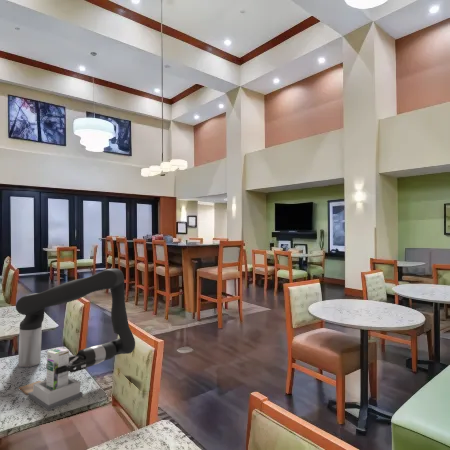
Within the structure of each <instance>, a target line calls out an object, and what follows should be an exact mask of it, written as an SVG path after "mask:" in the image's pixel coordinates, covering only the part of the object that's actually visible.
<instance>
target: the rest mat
mask: <svg viewBox="0 0 450 450" xmlns="http://www.w3.org/2000/svg"><path fill="white" fill-rule="evenodd" d="M39 382H42V381H41V380H38V381H35V382H32V383H29V384H26V385H21V386H19V387H18V390H19V391H21V392H22V393H24V394H25V395H27V396H28V393H30V392H32V391H33V384H36V383H39Z"/></svg>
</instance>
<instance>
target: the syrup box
mask: <svg viewBox="0 0 450 450" xmlns="http://www.w3.org/2000/svg"><path fill="white" fill-rule="evenodd" d="M46 355H47V356H46V358H47V359H46V365H47V369H46V380H47V382H46V388H47V389H48V390H50V391H53V390H55V389H58V388H61V387H64V386H66V385H68V376H69V372H63V373H60V374H55V369H56V368H58V367H61V366H64V365H65V366H66V365H67V364H69V356H70V350H69V349H67V348H66V349H65V348H63V347H56V348H53V349H49V350H47V353H46Z"/></svg>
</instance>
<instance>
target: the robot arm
mask: <svg viewBox="0 0 450 450" xmlns="http://www.w3.org/2000/svg"><path fill="white" fill-rule="evenodd" d="M124 276H125V275H124V273H123V271H122V270H121V269H119V268H105V269H104V270H102V271H100V272H97V273H95V274H93V275H90V276H88V277H84V278H83V277H82V278H77V279H73V280H69V281H68V282H64V283H61V284H59V285H56V286H54V287H51V288H49V289H47V290H44V291H42V292H33V293H30V294H27V295H26V294H25V295H23V296H21V297H20V298H18V300H17V302H16V304H15V310H16V312H18V314H20V315H23V316H24V318H23V320H21V321H20V323H19V331H18V332H19V333H18V335H19V337H18V340H19V341H18V359H17V362H18V364H17V365H18V367H20V368H30V367H34V366H37V365H39V364H41V361H42V360H41V358H42V357H41V356H42V354H41V353H42V335H43V334H42V331H43V330H42V329H43V322H44V320H45V308H48V307H54V306H59V305H62V304H67V303H71V302H74V301H78V300H80V299H81V298H85V297H86V296H88V295H89V294H91V293H95V292H98V291H99V292H100V291H105V290H110V293H111V294H110V295H111V309H110V310H111V311H110V317H111V318H110V319H111V325H112V330H113V333H114V334H115V335H118V336H119V337H118V338H116V339H114V340H111V341H108V342H105V343H102V344H98V345H92V346H90V347H85V348H83V349H82V348H81V349H80V350H78V351H77V353H76V354H74V355H69V364H67V365H66V366H65V365H64V366H61V367H58V368H56V369H55V374H60V373H63V372H68V373H75V372H79V371H82V370H86V369H87V368H90V367H92V366H95V365H98V364H100V363H101V364H102V362H105V361H108V360H111V359H113V358H114V357H115V356H118V355H124V354H126V355H127V354H131V353H132V352H134V350H135V348H136V340H135V337H134V335H133V333H132V332H133V331H132V330H131V328H130V325H129V320H128V315H127V307H126V299H125V298H126V297H125V277H124ZM46 370H47V364H46Z"/></svg>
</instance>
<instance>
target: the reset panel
mask: <svg viewBox="0 0 450 450" xmlns="http://www.w3.org/2000/svg"><path fill="white" fill-rule="evenodd" d="M46 382H47V379H46V380H42V381H41V382H39V383H36V384H33V391H32V392H30V393H28V395H27V398H29V399H31V400H32V401H33V402H35V403H36V404H38V405H39V406H40V407H42V408H43V409H45V410H46V411H49V412H50V411H52V410H54V409H57V408H59V407H61V406H64V405H66V404H68V403H71V402H73V401H75V400H78V399H80V398H83V397H84V396H83V392H81V382H80V381H79V380H77V379H75V378H74V377H71V376H70V375H68V385H66V386H64V387H61V388H58V389H55V390H53V391H50V390H48V389H47V388H46Z"/></svg>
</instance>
